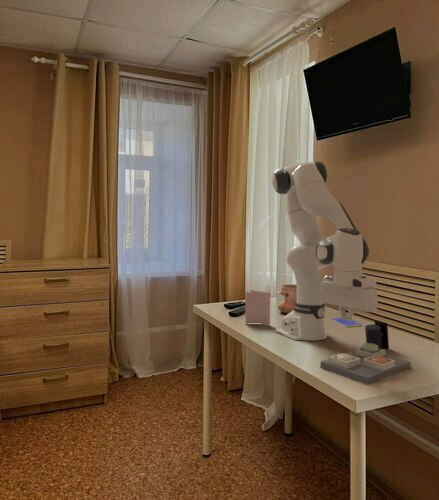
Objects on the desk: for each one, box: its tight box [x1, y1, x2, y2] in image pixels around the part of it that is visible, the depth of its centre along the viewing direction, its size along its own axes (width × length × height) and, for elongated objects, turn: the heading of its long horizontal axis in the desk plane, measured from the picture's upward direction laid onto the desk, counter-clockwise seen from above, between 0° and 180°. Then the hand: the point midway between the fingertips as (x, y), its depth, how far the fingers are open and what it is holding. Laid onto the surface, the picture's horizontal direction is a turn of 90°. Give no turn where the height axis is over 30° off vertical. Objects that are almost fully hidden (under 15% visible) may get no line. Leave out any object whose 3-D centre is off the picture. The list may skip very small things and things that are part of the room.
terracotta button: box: [371, 356, 388, 364], centre depth 137 cm, size 5×5×2 cm
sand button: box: [336, 353, 353, 362], centre depth 139 cm, size 5×5×2 cm
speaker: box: [364, 320, 390, 350], centre depth 162 cm, size 8×6×10 cm
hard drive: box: [331, 317, 362, 328], centre depth 199 cm, size 2×8×12 cm
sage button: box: [362, 342, 378, 353], centre depth 147 cm, size 5×5×2 cm
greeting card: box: [244, 290, 271, 325], centre depth 197 cm, size 11×7×15 cm, turn 46°
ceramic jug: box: [276, 283, 297, 315], centre depth 220 cm, size 18×14×14 cm
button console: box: [319, 346, 412, 386], centre depth 141 cm, size 18×24×4 cm
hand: (346, 320), depth 138 cm, fingers closed
